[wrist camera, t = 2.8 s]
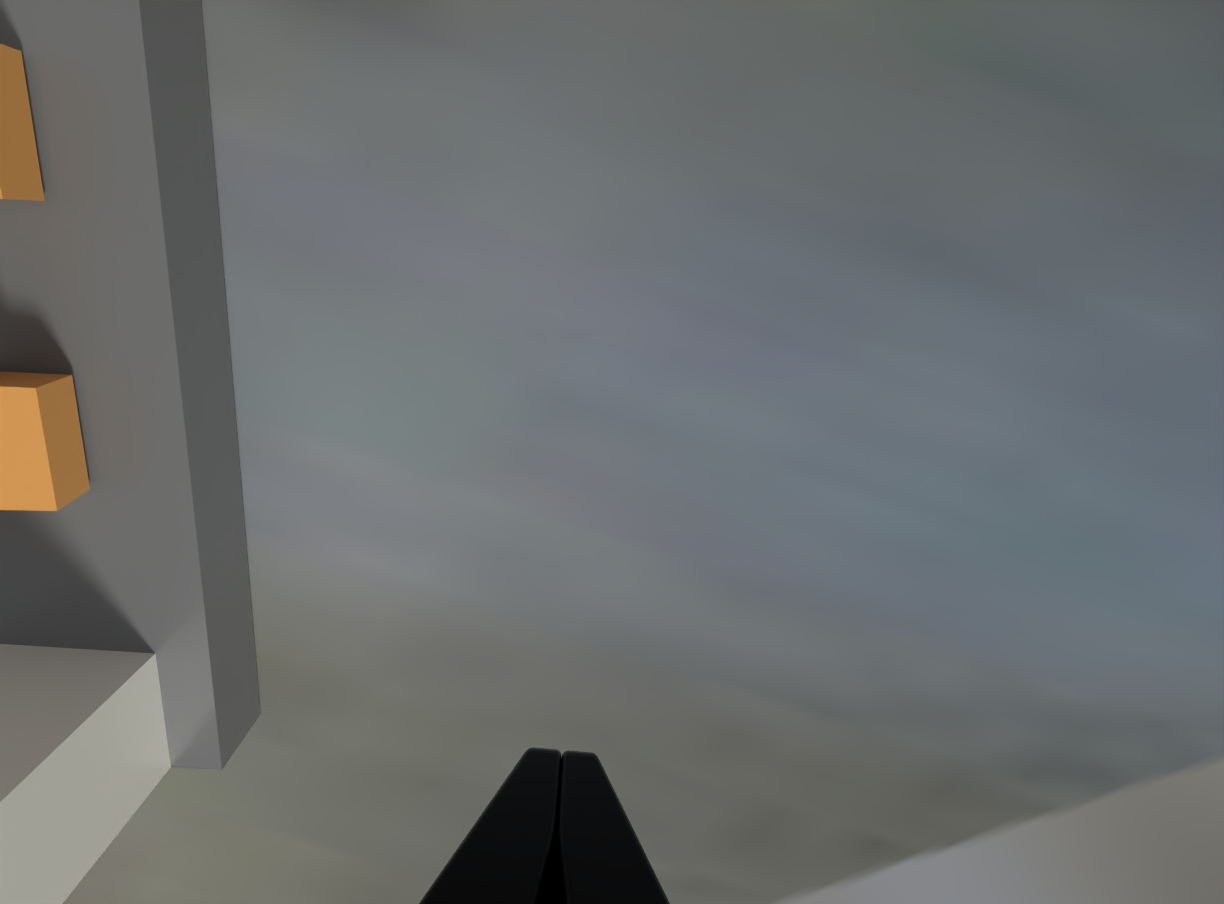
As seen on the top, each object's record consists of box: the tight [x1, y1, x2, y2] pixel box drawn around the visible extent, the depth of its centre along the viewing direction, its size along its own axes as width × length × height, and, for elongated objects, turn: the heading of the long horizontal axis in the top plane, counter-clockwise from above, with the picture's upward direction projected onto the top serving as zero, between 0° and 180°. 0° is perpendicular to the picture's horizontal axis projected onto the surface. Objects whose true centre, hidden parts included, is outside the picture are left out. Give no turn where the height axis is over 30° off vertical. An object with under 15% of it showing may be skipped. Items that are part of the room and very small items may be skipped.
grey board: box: [0, 0, 261, 770], centre depth 17 cm, size 8×28×2 cm, turn 175°
